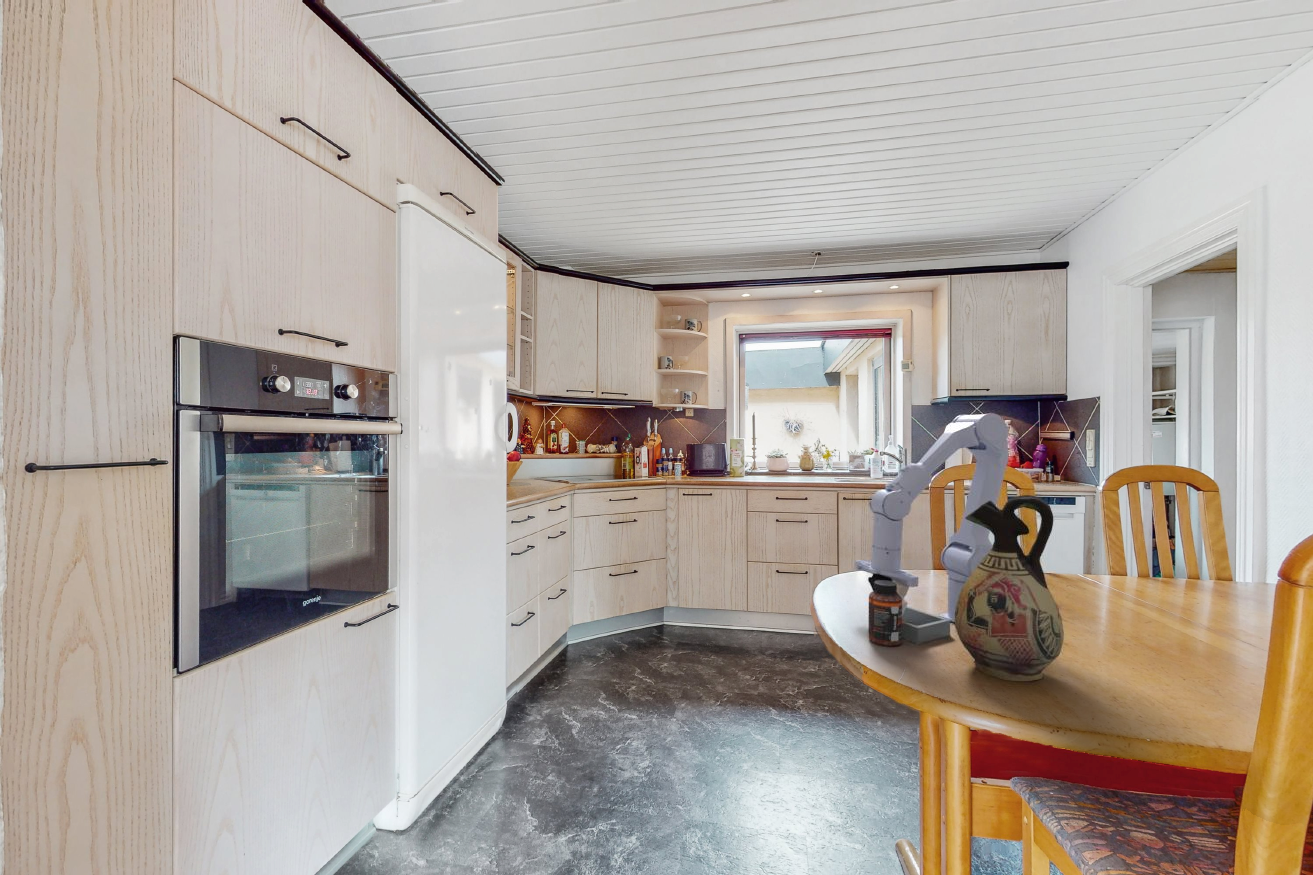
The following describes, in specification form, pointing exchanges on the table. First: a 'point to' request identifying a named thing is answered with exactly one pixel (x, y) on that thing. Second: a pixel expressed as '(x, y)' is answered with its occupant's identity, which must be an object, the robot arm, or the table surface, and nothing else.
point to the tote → (923, 626)
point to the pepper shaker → (902, 593)
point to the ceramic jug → (1010, 598)
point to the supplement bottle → (885, 614)
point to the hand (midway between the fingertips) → (882, 611)
